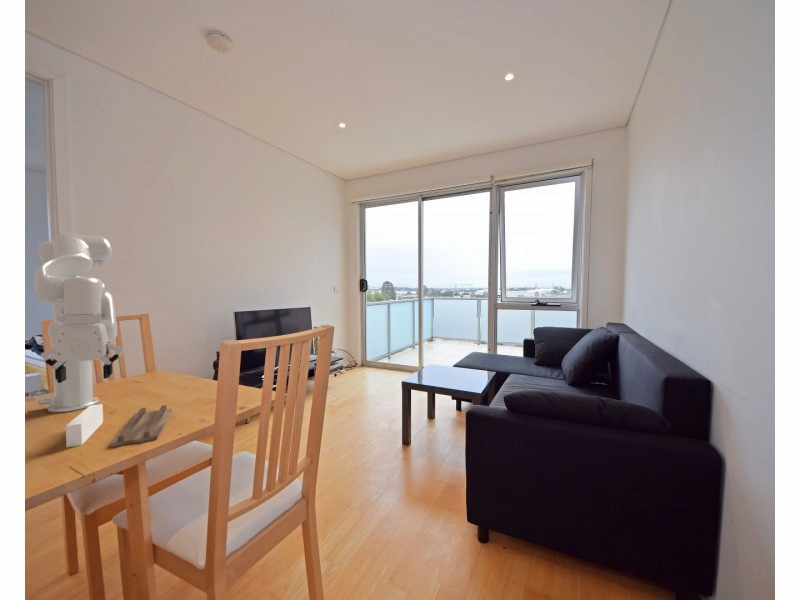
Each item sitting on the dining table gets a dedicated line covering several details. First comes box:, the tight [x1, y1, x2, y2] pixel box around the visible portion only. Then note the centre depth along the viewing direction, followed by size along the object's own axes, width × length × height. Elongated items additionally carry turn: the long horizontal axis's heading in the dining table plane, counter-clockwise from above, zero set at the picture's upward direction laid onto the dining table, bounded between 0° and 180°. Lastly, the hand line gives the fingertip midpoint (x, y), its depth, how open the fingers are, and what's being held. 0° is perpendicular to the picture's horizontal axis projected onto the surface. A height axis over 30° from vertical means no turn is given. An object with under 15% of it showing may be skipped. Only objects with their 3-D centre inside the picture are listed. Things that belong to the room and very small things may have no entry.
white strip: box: [65, 403, 104, 448], centre depth 91 cm, size 3×16×6 cm, turn 28°
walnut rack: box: [109, 404, 173, 448], centre depth 95 cm, size 10×22×2 cm, turn 27°
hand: (85, 379), depth 90 cm, fingers open, 9 cm apart
